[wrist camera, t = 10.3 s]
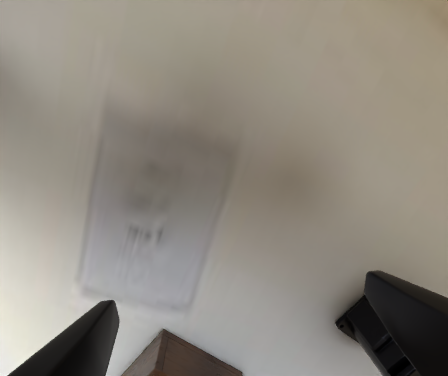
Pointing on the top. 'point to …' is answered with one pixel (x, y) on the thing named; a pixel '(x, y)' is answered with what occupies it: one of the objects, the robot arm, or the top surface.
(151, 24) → the top surface
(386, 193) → the top surface
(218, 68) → the top surface
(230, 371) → the holder
